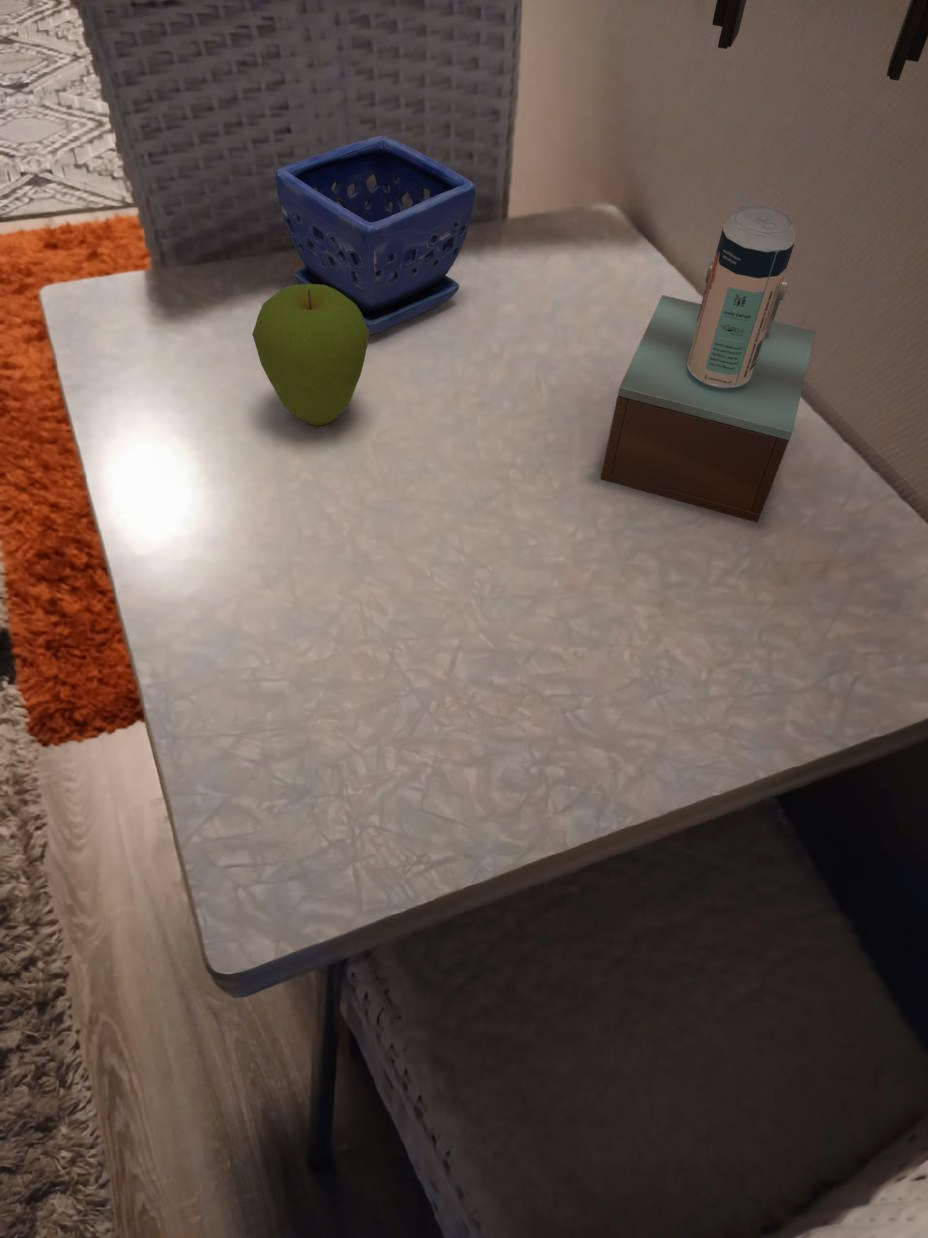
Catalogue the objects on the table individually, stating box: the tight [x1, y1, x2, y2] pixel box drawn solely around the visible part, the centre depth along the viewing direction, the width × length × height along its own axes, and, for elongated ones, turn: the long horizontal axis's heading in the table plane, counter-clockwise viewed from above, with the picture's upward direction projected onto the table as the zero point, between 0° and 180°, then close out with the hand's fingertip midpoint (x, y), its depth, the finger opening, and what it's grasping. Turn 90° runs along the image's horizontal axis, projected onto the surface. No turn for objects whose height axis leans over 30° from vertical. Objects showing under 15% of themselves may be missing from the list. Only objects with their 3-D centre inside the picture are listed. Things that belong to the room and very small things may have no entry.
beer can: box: [687, 204, 797, 389], centre depth 68 cm, size 5×5×12 cm
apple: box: [252, 284, 371, 427], centre depth 76 cm, size 9×8×12 cm
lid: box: [617, 260, 817, 441], centre depth 73 cm, size 14×13×6 cm
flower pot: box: [275, 135, 477, 335], centre depth 89 cm, size 13×13×12 cm
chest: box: [600, 395, 790, 523], centre depth 78 cm, size 14×13×8 cm
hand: (809, 56), depth 57 cm, fingers open, 9 cm apart
